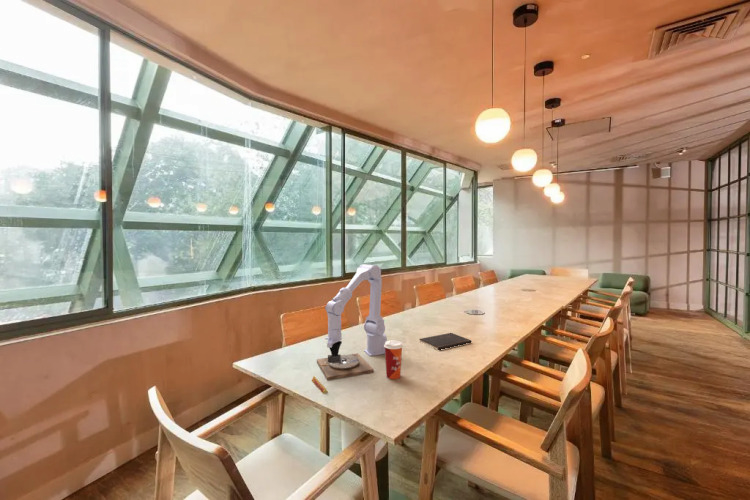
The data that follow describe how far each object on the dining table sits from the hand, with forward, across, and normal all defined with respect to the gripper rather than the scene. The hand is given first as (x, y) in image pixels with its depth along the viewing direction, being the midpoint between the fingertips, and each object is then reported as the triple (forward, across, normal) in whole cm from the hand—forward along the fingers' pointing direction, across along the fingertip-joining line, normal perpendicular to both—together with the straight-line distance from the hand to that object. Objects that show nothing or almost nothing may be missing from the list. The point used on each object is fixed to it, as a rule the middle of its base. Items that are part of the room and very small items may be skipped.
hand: (334, 358), depth 141 cm
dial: (+2, +1, +4) cm, 5 cm away
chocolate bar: (+4, +20, 0) cm, 20 cm away
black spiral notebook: (+4, -41, +49) cm, 64 cm away
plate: (+3, +1, +4) cm, 6 cm away
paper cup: (+3, +6, +27) cm, 28 cm away
